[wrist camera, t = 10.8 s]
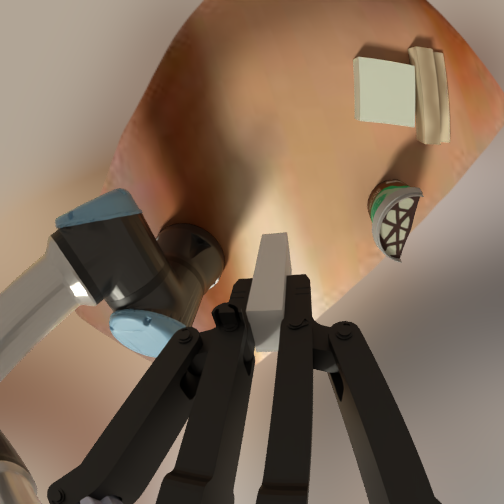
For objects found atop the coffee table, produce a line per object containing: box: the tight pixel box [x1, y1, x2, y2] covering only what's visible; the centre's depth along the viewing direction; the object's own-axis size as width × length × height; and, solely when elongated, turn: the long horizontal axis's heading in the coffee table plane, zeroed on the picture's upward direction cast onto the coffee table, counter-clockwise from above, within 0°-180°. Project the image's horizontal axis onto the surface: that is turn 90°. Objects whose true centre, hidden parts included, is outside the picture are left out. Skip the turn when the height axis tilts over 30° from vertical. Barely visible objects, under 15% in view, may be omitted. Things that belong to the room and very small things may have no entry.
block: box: [353, 57, 415, 127], centre depth 33 cm, size 9×10×4 cm
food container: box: [368, 180, 424, 262], centre depth 41 cm, size 12×6×10 cm, turn 176°
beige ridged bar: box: [408, 47, 450, 145], centre depth 32 cm, size 6×16×4 cm, turn 10°
